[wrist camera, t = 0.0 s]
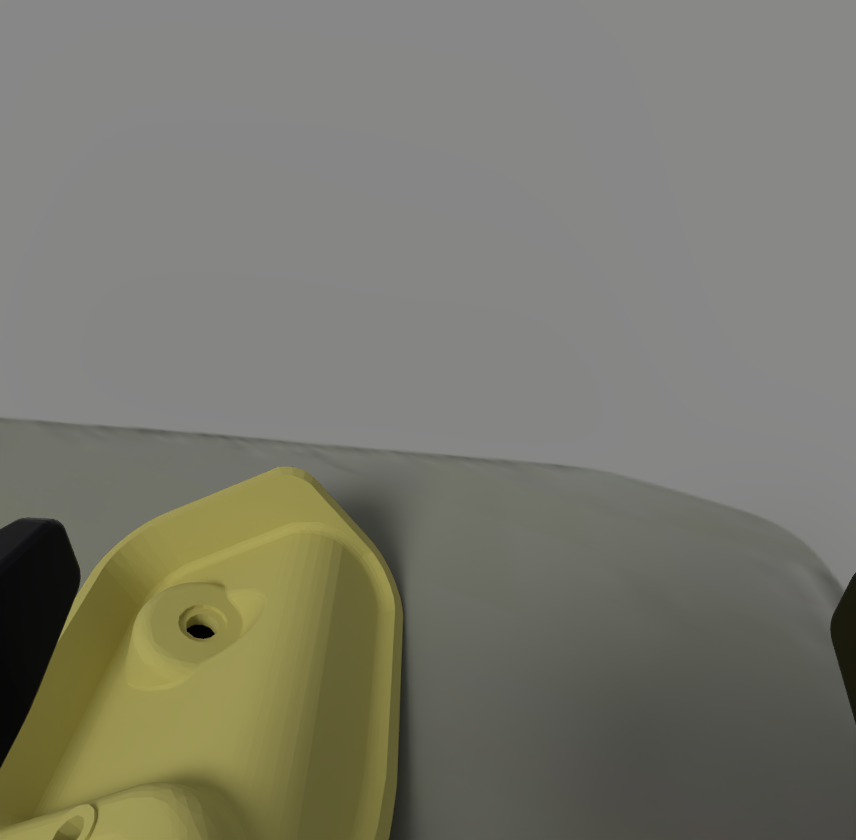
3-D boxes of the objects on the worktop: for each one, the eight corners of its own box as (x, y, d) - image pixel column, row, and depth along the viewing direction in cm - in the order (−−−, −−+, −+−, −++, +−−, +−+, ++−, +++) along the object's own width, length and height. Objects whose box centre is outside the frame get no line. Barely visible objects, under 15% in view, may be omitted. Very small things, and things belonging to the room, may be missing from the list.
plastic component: (115, 534, 29) (322, 448, 27) (213, 646, 32) (404, 577, 30) (-356, 1285, 11) (132, 1205, 9) (-36, 1363, 15) (377, 1315, 13)
